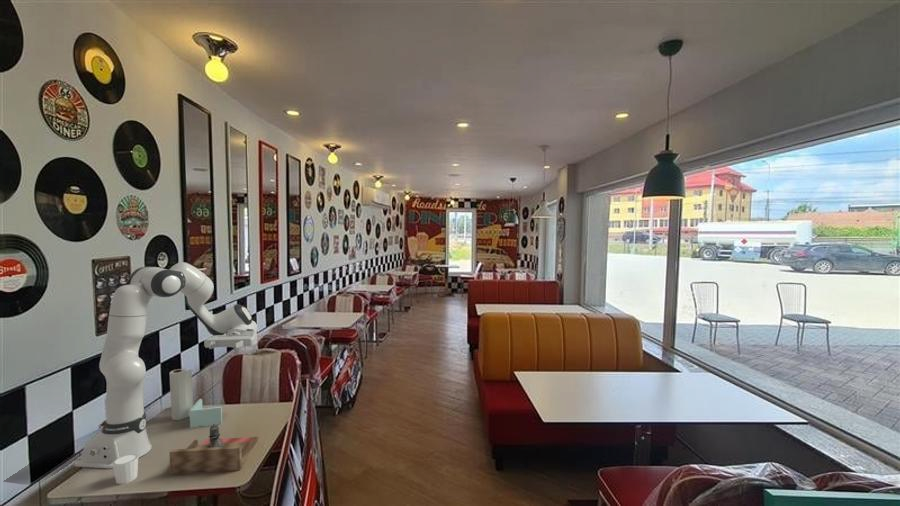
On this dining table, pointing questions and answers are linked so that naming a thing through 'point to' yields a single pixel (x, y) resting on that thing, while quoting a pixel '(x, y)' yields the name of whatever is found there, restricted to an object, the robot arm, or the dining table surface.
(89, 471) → the dining table surface
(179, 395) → the paper towel roll
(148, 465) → the dining table surface
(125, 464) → the white tapered cup
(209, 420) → the l-shaped corner panel
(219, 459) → the tray
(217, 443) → the stone chess piece
